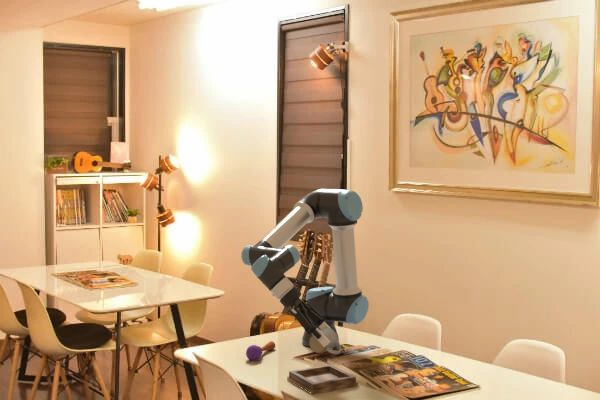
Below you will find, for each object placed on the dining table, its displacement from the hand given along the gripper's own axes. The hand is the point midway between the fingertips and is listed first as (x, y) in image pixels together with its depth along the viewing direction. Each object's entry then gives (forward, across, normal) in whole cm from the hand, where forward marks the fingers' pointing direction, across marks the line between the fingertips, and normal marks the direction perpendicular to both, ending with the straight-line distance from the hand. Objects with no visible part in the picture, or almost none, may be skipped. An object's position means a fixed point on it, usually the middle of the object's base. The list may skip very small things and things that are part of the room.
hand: (330, 341), depth 286 cm
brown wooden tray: (+9, 0, -13) cm, 15 cm away
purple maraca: (-14, -28, -36) cm, 47 cm away
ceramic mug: (+2, 0, -4) cm, 4 cm away
